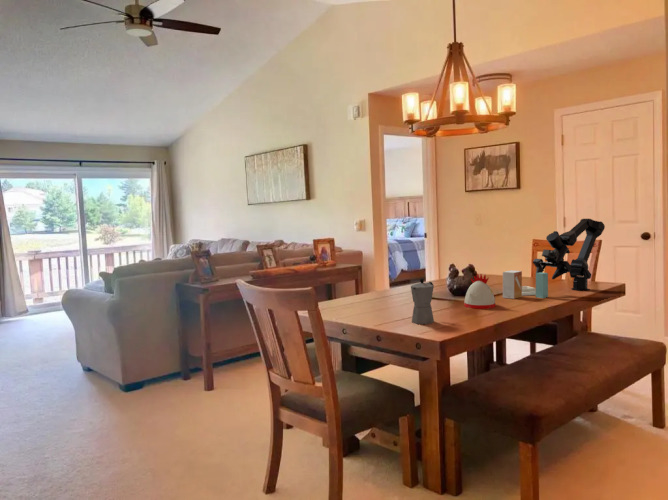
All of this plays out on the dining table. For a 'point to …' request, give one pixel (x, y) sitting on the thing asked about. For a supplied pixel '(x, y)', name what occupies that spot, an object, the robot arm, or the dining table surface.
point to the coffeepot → (422, 302)
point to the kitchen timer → (479, 294)
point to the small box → (512, 284)
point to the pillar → (541, 285)
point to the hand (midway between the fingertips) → (544, 278)
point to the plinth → (528, 290)
